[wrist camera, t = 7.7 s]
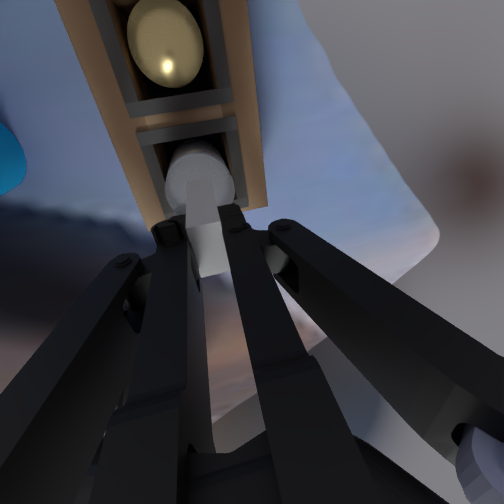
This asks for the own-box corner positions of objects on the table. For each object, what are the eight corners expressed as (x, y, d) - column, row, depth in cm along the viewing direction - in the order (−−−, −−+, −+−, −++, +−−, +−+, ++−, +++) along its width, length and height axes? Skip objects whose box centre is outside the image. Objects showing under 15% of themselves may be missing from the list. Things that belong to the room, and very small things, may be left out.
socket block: (155, 204, 30) (148, 232, 24) (80, -4, 20) (34, -43, 14) (253, 184, 32) (268, 207, 26) (226, -20, 22) (241, -63, 16)
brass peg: (153, 92, 24) (143, 92, 19) (133, 22, 22) (113, -1, 16) (205, 84, 25) (210, 82, 19) (191, 15, 22) (193, -10, 16)
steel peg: (179, 198, 25) (176, 228, 20) (163, 145, 23) (154, 163, 17) (228, 188, 26) (239, 215, 20) (218, 135, 23) (228, 149, 17)
